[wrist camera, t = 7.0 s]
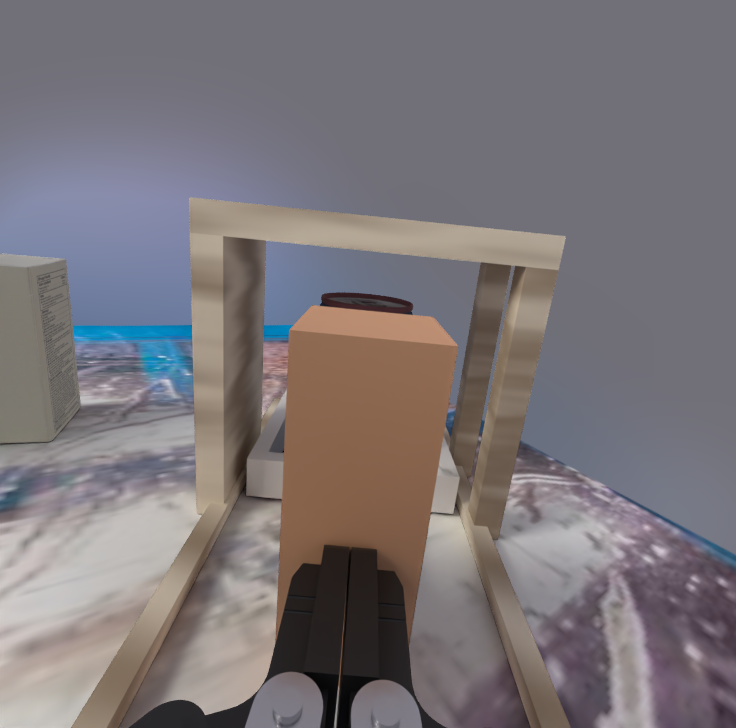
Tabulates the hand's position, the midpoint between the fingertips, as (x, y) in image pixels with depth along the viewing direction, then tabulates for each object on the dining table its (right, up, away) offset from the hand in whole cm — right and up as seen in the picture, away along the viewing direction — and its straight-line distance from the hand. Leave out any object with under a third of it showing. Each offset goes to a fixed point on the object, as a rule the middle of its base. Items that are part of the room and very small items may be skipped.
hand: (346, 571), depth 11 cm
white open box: (0, -3, +13) cm, 14 cm away
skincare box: (-24, +1, +19) cm, 31 cm away
